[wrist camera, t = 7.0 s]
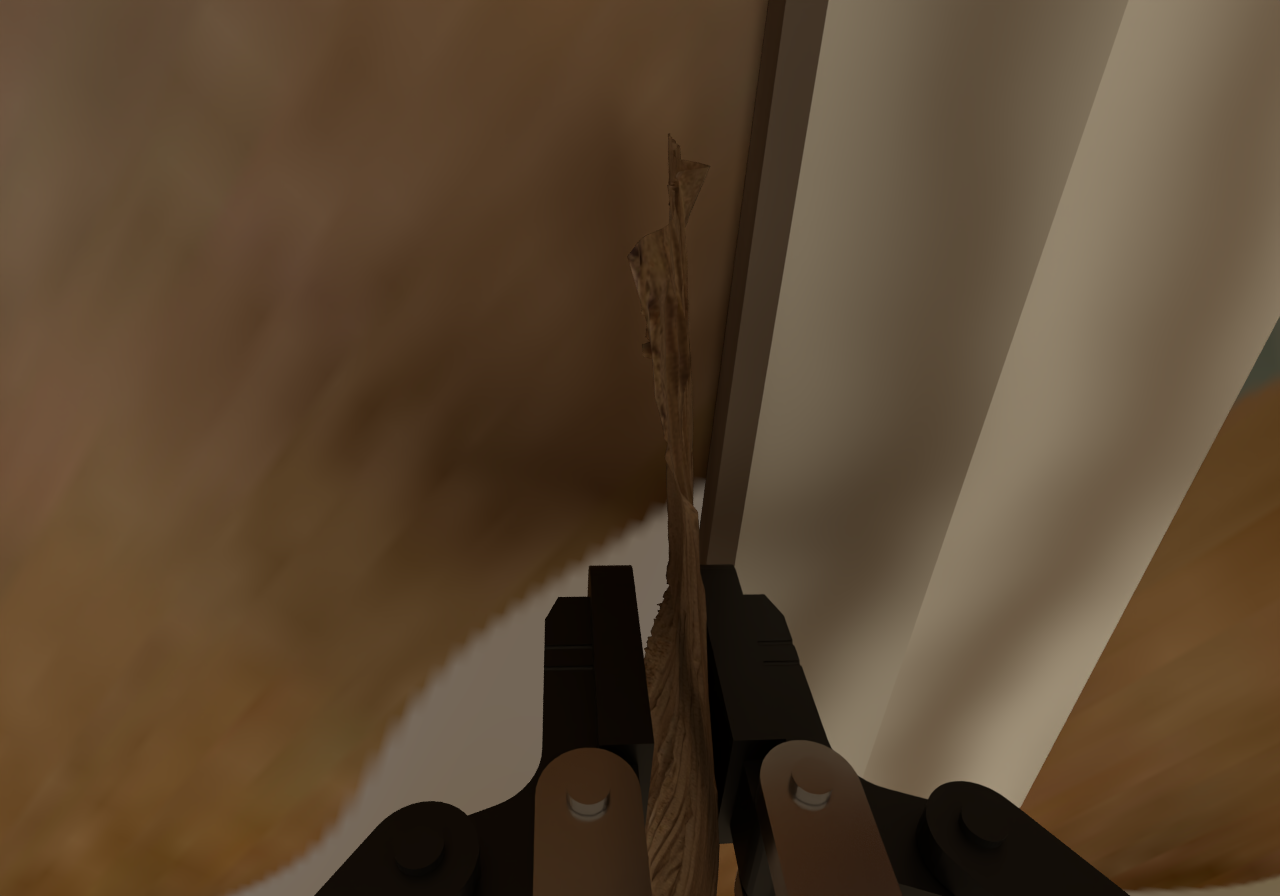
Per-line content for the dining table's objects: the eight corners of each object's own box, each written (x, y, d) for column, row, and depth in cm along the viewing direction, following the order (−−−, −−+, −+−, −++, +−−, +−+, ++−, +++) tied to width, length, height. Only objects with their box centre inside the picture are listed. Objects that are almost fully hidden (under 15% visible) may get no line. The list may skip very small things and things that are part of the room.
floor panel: (664, 791, 21) (669, 824, 20) (779, -78, 11) (797, -82, 10) (1002, 775, 22) (1020, 807, 22) (1395, -23, 12) (1458, -24, 11)
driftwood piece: (558, 131, 10) (500, 244, 5) (720, 132, 10) (791, 246, 5) (590, 843, 18) (577, 1117, 13) (680, 842, 18) (695, 1116, 13)
